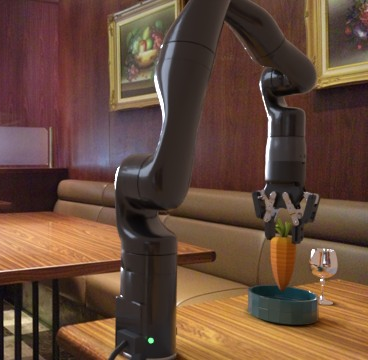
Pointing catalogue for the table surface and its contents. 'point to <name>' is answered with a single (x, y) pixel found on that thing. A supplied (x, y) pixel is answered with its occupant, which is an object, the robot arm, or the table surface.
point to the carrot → (282, 255)
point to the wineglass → (323, 267)
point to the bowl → (283, 304)
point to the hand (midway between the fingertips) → (283, 241)
